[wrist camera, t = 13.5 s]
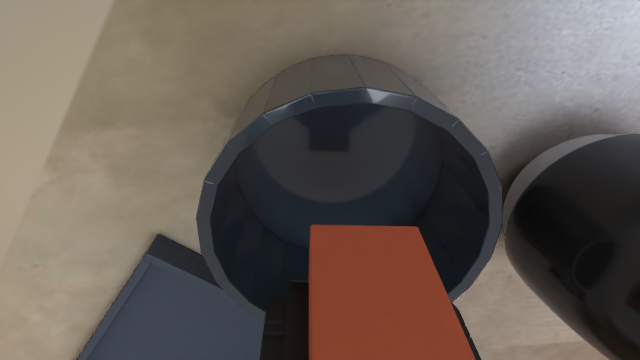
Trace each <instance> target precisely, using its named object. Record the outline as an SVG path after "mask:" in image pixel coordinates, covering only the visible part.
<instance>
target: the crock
mask: <svg viewBox="0 0 640 360" xmlns="http://www.w3.org/2000/svg"><path fill="white" fill-rule="evenodd" d="M196 216H197V217H196V221H197V228H198V235H199V242H200V249H201V253H202V255H203V257H204V259H205V261H206V263H207V265H208V267H209V269H210V271H211V273H212V275H213V277H214V278H215V280H216V282H217V283H218V285H219V286H220V287H221V288H222V289H223V290H224V291H225V292H226V293H227V294H228V295H229V296H230V297H231V298H232V299H233V300H234V301H235V302H236V303H237V304H238V305H239V306H240V307H242V309H243V310H245V311H247V312H248V313H250V314H252V315H254V316H255V317H257V318H259V319H260V320H262V321H265V313H266V307H267V306H268V304H269V303H270V301H271V300H272V298H273V296H289V284H290V280H308V277H309V248H310V227H311V225H362V226H416V227H418V229H419V231H420V233H421V236H422V238H423V240H424V242H425V245H426V247H427V249H428V252H429V254H430V256H431V258H432V261H433V263H434V265H435V268H436V270H437V272H438V274H439V277H440V279H441V281H442V284H443V286H444V288H445V290H446V293H447V295H448V297H449V300H450V301H451V302H453V301H454V300H455V299H457V298H458V297H459V296H460V295H461V294H462V293H464V292H465V291H466V290H467V289H468V288H470V286H471V285H472V284H473V283H474V281H475V280H476V278H477V277H478V275H479V274H480V273H481V271H482V270H483V268H484V267H485V266H486V264H487V263H488V261H489V260H490V258H491V256H492V254H493V251H494V248H495V245H496V242H497V239H498V236H499V233H500V230H501V227H502V223H503V206H502V184H501V182H500V179H499V177H498V174H497V172H496V169H495V167H494V164H493V162H492V159H491V157H490V154H489V152H488V150H487V148H486V147H485V146H484V145H483V144H482V143H481V142H480V141H479V140H478V139H477V138H476V137H475V135H474V134H473V133H472V132H471V131H470V130H469V129H468V128H467V127H466V126H465V125H464V123H463V122H462V121H461V120H460V119H459V118H458V117H457V116H455V115H454V114H453V113H452V112H451V111H450V110H449V109H448V108H447V107H446V106H445V105H443V104H442V103H441V102H440V101H439V100H438V99H437V98H436V97H435V96H434V95H433V94H431V93H430V92H429V91H428V90H427V89H426V88H425V87H424V86H423V85H422V84H420V83H419V82H418V81H417V80H416V79H415V78H413V77H411V76H409V75H408V74H406V73H405V72H403V71H401V70H400V69H398V68H396V67H394V66H392V65H390V64H387V63H385V62H382V61H380V60H376V59H372V58H368V57H364V56H355V55H329V56H323V57H317V58H313V59H310V60H306V61H303V62H300V63H297V64H295V65H293V66H291V67H289V68H287V69H285V70H283V71H281V72H280V73H278V74H277V75H275V76H274V77H272V78H271V79H269V80H268V81H267V82H266V83H265V84H264V85H262V86H261V87H260V88H259V89H258V90H257V91H256V92H255V94H253V95H252V96H251V98H250V99H249V100H248V102H247V103H246V105H245V107H244V108H243V110H242V111H241V113H240V115H239V116H238V118H237V120H236V121H235V123H234V124H233V126H232V128H231V130H230V132H229V134H228V136H227V138H226V139H225V141H224V143H223V145H222V147H221V149H220V151H219V152H218V154H217V156H216V158H215V160H214V162H213V164H212V165H211V167H210V169H209V171H208V173H207V175H206V177H205V179H204V182H203V186H202V191H201V196H200V200H199V205H198V210H197V215H196Z"/></svg>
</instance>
